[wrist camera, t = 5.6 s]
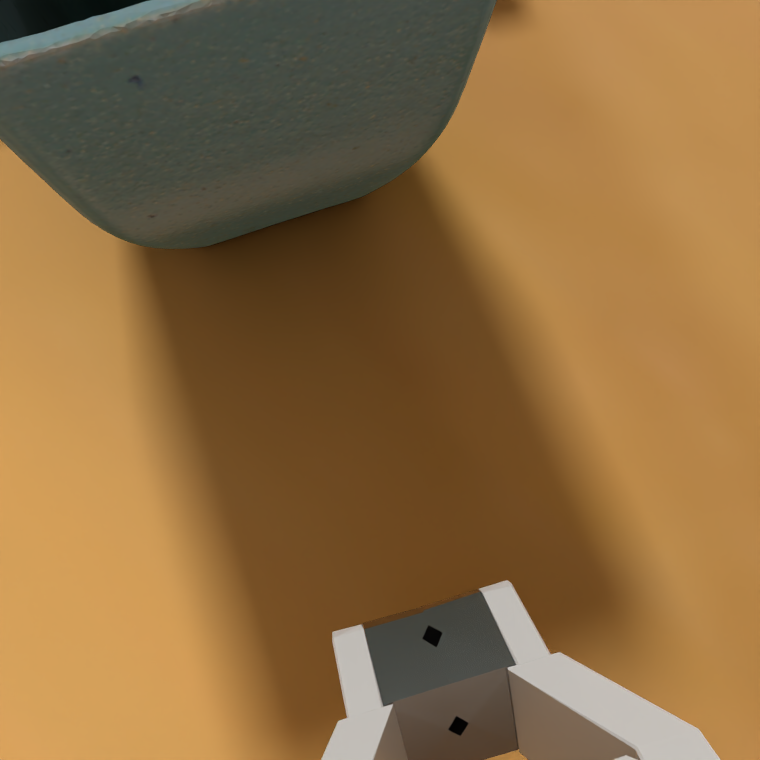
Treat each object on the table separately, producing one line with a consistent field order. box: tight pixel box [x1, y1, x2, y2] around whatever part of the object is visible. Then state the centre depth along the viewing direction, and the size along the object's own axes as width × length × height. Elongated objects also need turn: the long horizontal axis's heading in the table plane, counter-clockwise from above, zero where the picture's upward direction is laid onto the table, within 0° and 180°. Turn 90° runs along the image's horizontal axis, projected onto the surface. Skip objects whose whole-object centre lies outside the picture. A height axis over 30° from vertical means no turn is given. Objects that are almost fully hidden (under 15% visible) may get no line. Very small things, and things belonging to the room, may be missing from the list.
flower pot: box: [0, 0, 497, 249], centre depth 15 cm, size 9×9×9 cm
